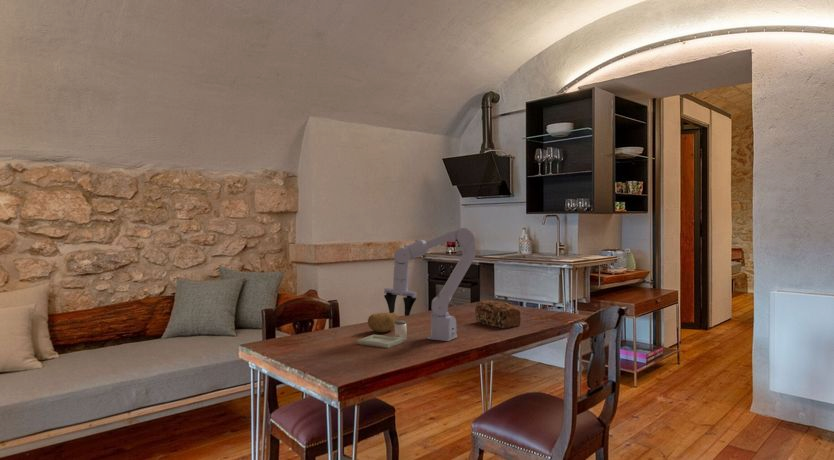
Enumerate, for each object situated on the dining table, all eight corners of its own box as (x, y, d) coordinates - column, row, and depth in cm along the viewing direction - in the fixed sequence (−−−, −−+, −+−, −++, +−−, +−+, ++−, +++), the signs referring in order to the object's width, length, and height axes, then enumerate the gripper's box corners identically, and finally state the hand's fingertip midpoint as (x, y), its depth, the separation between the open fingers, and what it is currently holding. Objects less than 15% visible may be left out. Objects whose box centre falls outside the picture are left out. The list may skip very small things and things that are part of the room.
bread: (474, 322, 221) (474, 300, 221) (493, 319, 226) (492, 297, 226) (503, 329, 205) (502, 305, 205) (522, 326, 211) (521, 302, 210)
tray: (403, 342, 187) (403, 338, 187) (388, 348, 178) (387, 343, 178) (373, 338, 194) (373, 334, 194) (357, 344, 186) (357, 339, 186)
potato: (404, 331, 207) (404, 311, 207) (375, 336, 198) (375, 316, 198) (391, 327, 215) (390, 309, 214) (363, 332, 206) (362, 313, 206)
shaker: (409, 338, 193) (408, 320, 193) (402, 341, 189) (402, 323, 189) (399, 337, 195) (398, 320, 195) (392, 339, 191) (392, 322, 191)
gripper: (379, 277, 193) (378, 312, 193) (409, 281, 185) (408, 318, 185) (391, 276, 199) (389, 310, 199) (420, 280, 190) (419, 315, 191)
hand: (399, 314), depth 192 cm, fingers open, 7 cm apart
